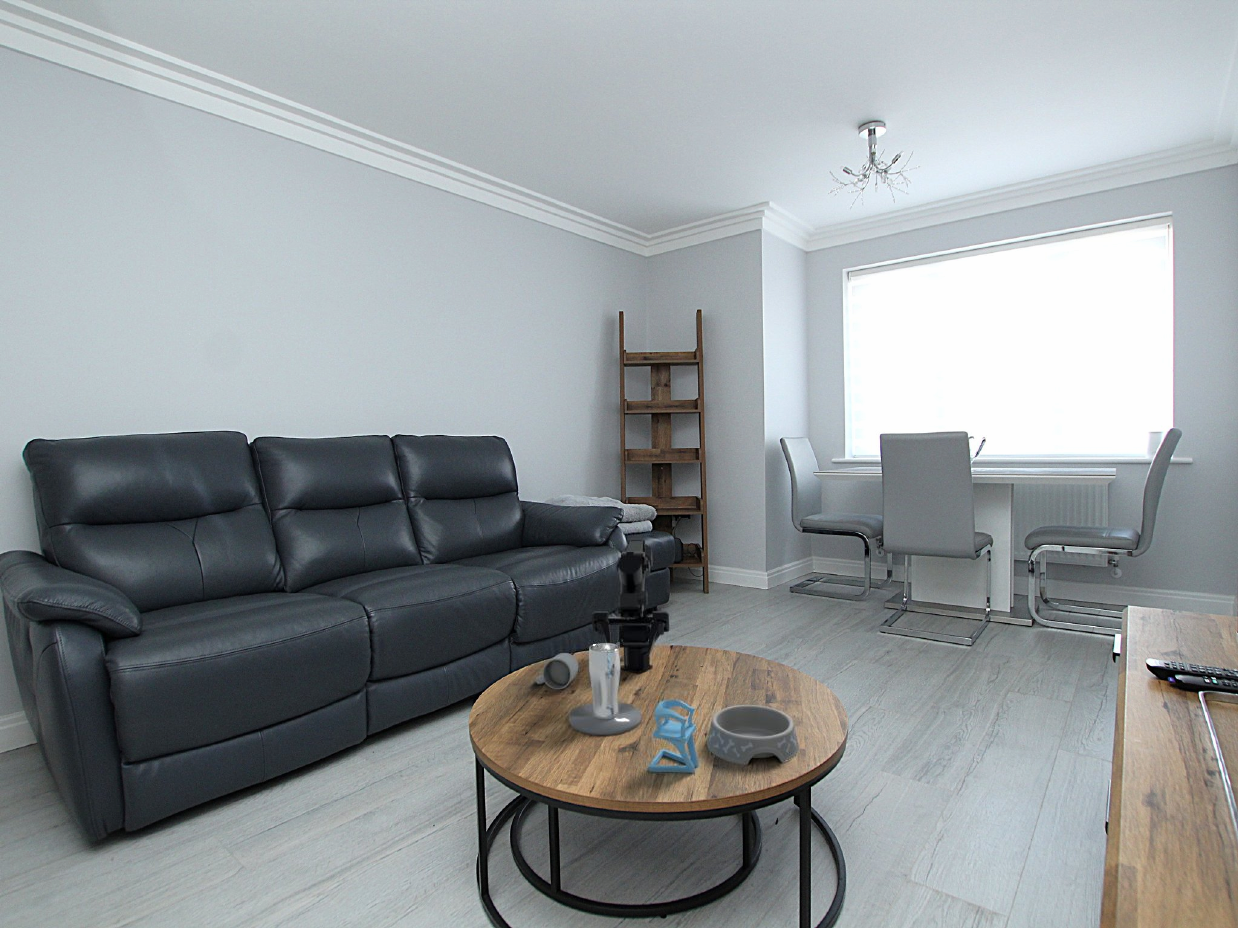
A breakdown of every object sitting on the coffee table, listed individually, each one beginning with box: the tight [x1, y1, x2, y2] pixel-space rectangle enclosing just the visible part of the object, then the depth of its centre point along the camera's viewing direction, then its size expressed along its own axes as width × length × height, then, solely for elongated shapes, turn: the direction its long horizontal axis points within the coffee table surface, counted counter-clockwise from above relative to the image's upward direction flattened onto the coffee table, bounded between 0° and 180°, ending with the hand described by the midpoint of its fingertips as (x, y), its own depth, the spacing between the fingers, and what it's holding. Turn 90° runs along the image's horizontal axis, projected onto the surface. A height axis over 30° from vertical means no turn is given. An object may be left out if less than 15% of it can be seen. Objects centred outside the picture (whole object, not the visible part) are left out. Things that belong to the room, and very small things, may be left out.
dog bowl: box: [706, 704, 800, 766], centre depth 137 cm, size 17×18×5 cm
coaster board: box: [568, 701, 642, 736], centre depth 151 cm, size 16×16×1 cm
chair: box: [647, 699, 700, 774], centre depth 129 cm, size 8×8×12 cm
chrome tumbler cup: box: [588, 642, 621, 720], centre depth 151 cm, size 7×7×15 cm
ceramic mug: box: [535, 652, 579, 691], centre depth 175 cm, size 11×8×8 cm
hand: (629, 653), depth 162 cm, fingers open, 9 cm apart
